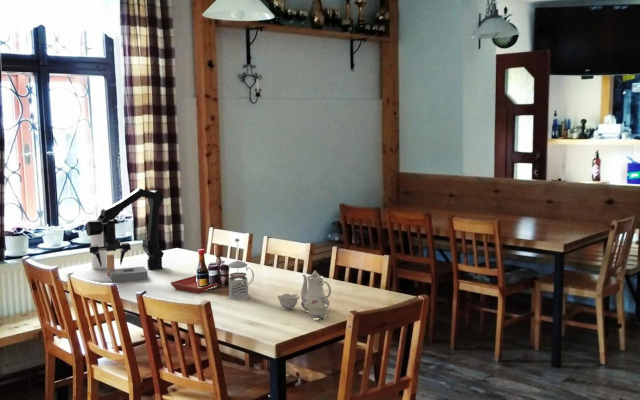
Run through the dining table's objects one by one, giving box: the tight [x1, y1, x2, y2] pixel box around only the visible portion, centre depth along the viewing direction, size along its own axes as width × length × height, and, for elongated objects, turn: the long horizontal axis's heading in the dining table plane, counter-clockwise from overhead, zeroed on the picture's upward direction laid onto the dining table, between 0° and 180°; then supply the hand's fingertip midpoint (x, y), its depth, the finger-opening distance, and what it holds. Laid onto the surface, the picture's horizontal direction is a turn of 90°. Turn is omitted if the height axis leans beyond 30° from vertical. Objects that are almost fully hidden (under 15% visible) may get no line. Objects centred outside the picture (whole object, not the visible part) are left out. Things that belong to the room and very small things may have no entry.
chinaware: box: [277, 270, 332, 319], centre depth 259 cm, size 28×17×17 cm, turn 45°
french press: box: [226, 238, 255, 301], centre depth 282 cm, size 10×12×25 cm
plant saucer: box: [170, 275, 218, 294], centre depth 300 cm, size 18×18×3 cm
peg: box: [106, 253, 116, 277], centre depth 326 cm, size 3×3×10 cm
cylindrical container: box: [89, 217, 107, 270], centre depth 342 cm, size 7×7×25 cm
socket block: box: [109, 266, 149, 284], centre depth 318 cm, size 16×12×4 cm
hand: (110, 265), depth 326 cm, fingers open, 9 cm apart
